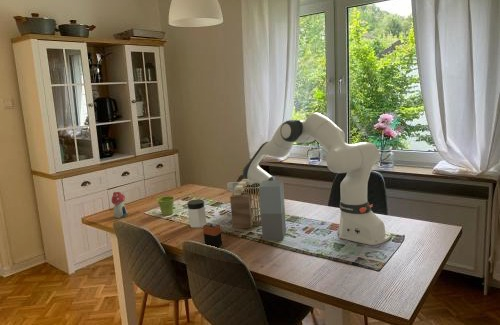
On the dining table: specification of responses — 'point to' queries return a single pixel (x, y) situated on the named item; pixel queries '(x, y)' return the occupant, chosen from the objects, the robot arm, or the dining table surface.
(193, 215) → the jar
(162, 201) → the plant pot
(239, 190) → the bar
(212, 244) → the battery
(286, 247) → the dining table surface
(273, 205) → the boxes
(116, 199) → the decorative ornament
